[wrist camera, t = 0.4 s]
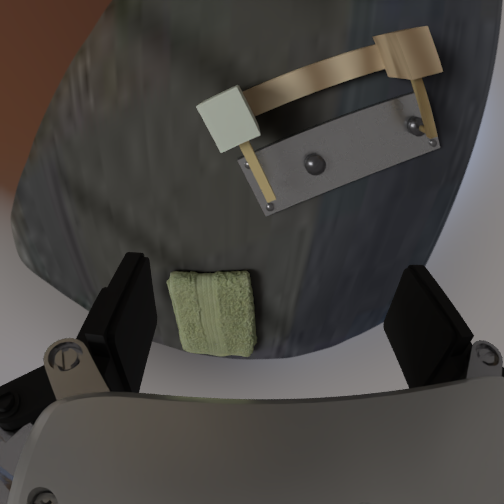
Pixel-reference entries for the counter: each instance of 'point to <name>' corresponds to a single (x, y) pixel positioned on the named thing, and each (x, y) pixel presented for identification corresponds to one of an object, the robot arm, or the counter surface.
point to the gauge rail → (359, 72)
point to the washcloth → (214, 312)
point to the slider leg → (235, 129)
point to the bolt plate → (340, 151)
